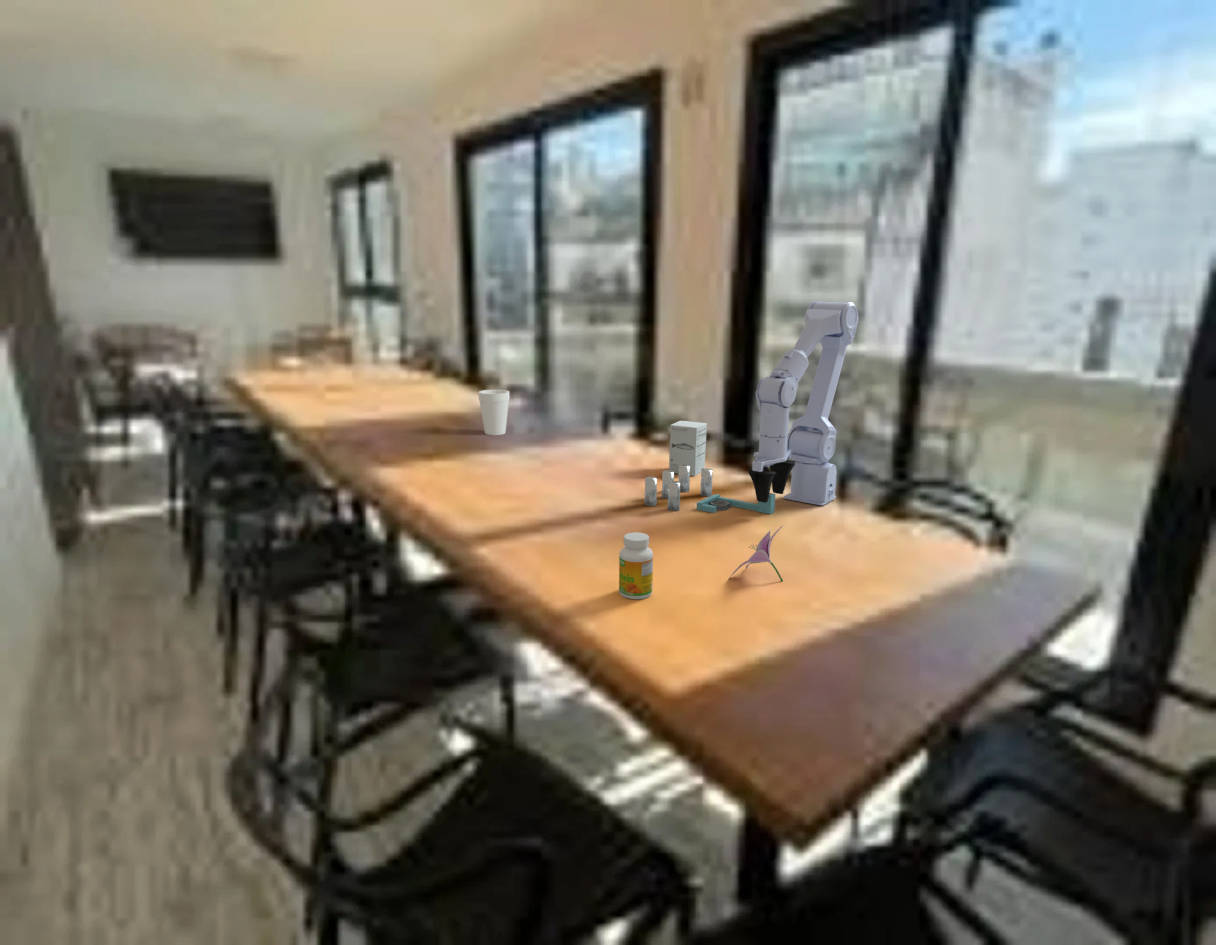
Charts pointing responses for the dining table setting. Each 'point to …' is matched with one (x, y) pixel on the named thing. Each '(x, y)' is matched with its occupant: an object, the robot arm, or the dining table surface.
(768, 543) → the lily
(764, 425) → the robot arm
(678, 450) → the supplement box
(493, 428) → the foam cup
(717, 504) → the grey flat hexagonal block
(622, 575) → the supplement bottle
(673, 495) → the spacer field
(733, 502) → the hook tool
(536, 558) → the dining table surface
